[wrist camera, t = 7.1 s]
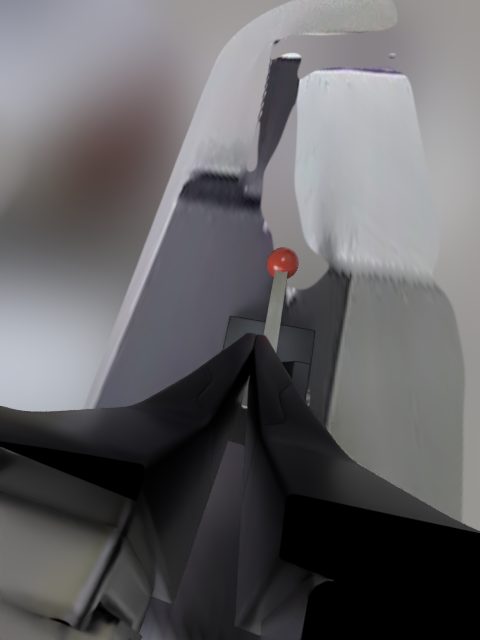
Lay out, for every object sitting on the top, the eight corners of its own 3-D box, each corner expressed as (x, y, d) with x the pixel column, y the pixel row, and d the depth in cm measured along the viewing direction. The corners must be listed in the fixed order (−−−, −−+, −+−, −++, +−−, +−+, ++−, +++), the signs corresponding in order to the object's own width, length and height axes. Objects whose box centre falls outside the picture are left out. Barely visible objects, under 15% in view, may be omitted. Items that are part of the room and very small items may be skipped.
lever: (268, 261, 20) (270, 238, 18) (296, 264, 20) (303, 242, 17) (238, 407, 14) (235, 405, 12) (277, 417, 14) (283, 416, 11)
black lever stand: (231, 318, 23) (211, 285, 13) (312, 332, 22) (352, 307, 12) (207, 429, 21) (163, 486, 11) (296, 452, 19) (331, 538, 10)
